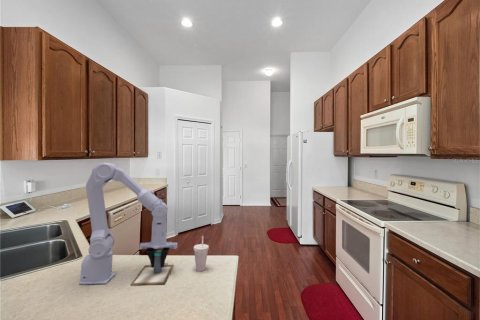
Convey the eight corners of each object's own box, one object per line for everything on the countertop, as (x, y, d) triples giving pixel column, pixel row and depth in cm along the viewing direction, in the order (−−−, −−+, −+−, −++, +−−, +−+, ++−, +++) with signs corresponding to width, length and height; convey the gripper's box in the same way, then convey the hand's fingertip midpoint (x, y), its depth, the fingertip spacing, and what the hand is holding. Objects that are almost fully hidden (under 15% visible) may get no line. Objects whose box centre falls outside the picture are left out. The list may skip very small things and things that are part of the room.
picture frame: (130, 285, 79) (130, 282, 79) (145, 266, 95) (145, 263, 95) (164, 284, 80) (164, 281, 80) (173, 265, 96) (173, 262, 96)
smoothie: (204, 274, 89) (206, 239, 90) (190, 272, 90) (191, 237, 91) (210, 267, 95) (211, 234, 96) (196, 265, 97) (197, 233, 97)
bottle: (152, 273, 87) (152, 253, 87) (154, 269, 90) (155, 250, 91) (160, 273, 87) (161, 253, 88) (163, 269, 91) (163, 250, 91)
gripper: (137, 235, 85) (135, 271, 84) (175, 235, 86) (174, 270, 86) (143, 230, 92) (141, 263, 91) (178, 230, 93) (177, 262, 93)
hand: (157, 266), depth 89 cm, fingers closed on bottle, 3 cm apart
